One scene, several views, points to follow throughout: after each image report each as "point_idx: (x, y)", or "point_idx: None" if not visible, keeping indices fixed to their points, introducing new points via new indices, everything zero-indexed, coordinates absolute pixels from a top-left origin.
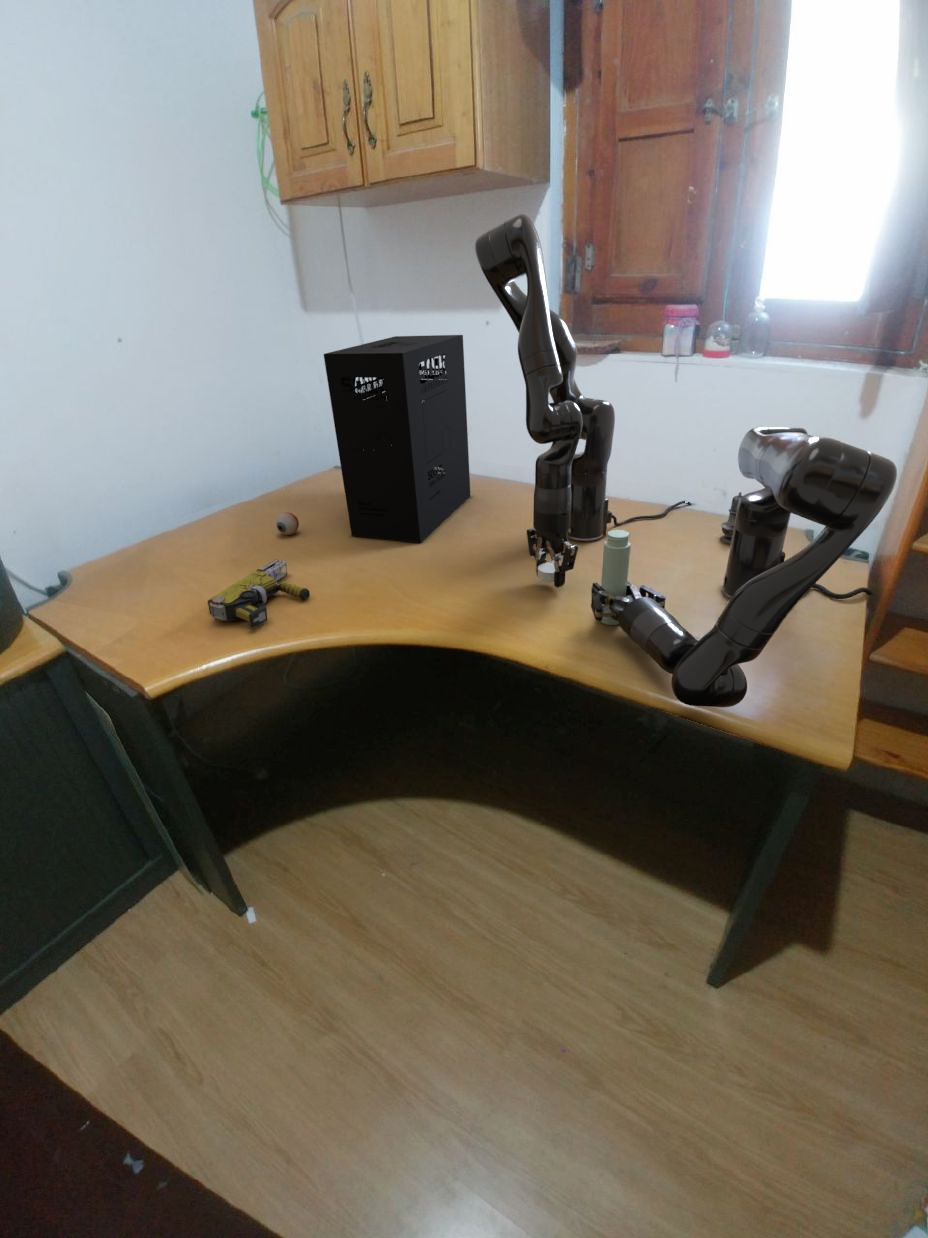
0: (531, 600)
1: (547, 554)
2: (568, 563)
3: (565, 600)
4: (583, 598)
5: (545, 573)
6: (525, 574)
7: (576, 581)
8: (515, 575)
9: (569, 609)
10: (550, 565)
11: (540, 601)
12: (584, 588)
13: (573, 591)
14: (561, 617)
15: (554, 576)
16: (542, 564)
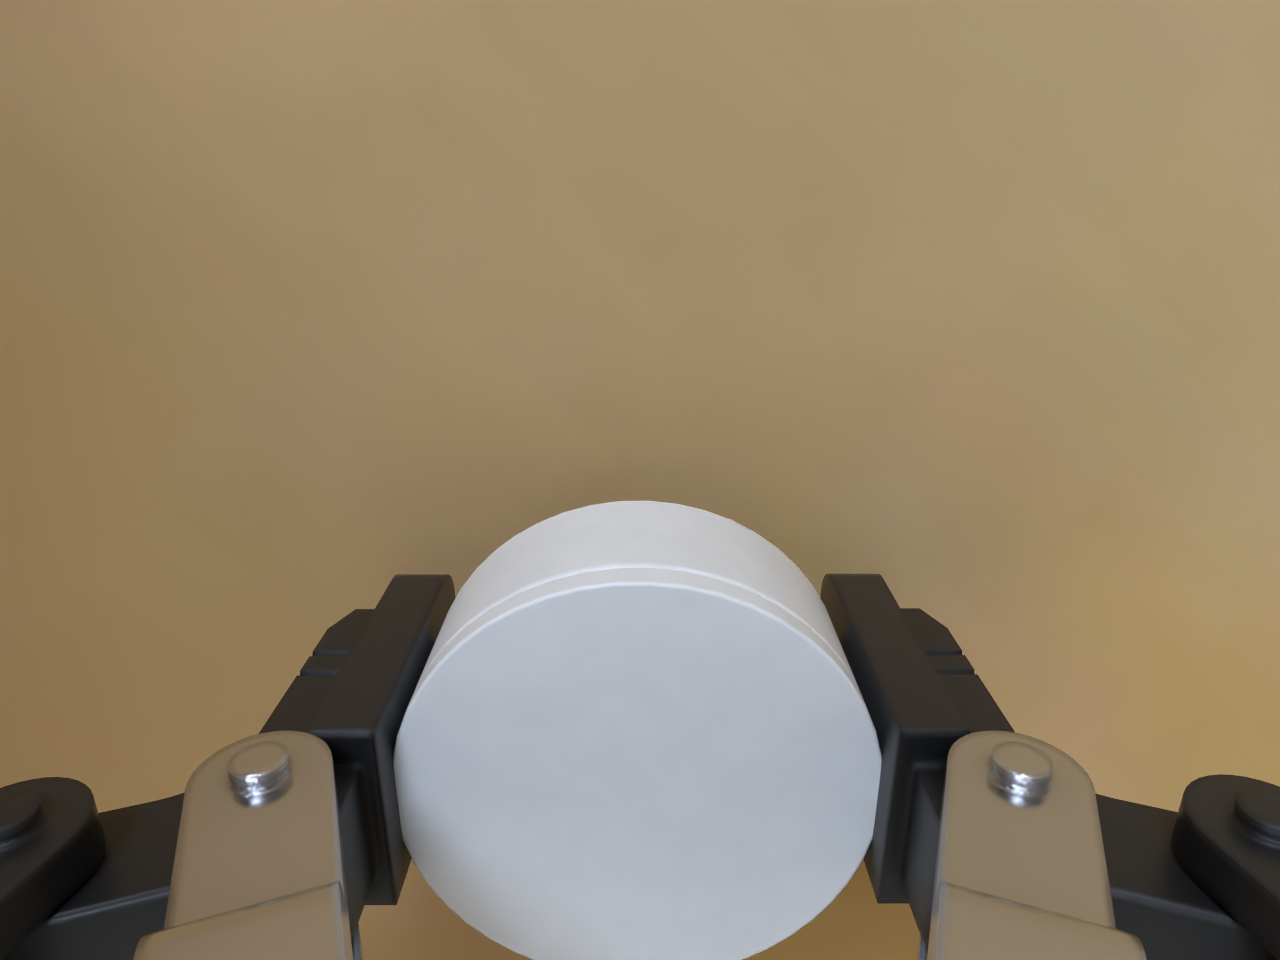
0: None
1: (342, 848)
2: (1249, 932)
3: (1057, 675)
4: (1210, 476)
5: (742, 943)
6: (128, 611)
7: (771, 176)
8: (94, 719)
9: (1234, 770)
10: (560, 740)
11: (856, 877)
12: (1031, 250)
13: (970, 444)
14: None
15: None
16: (428, 818)
